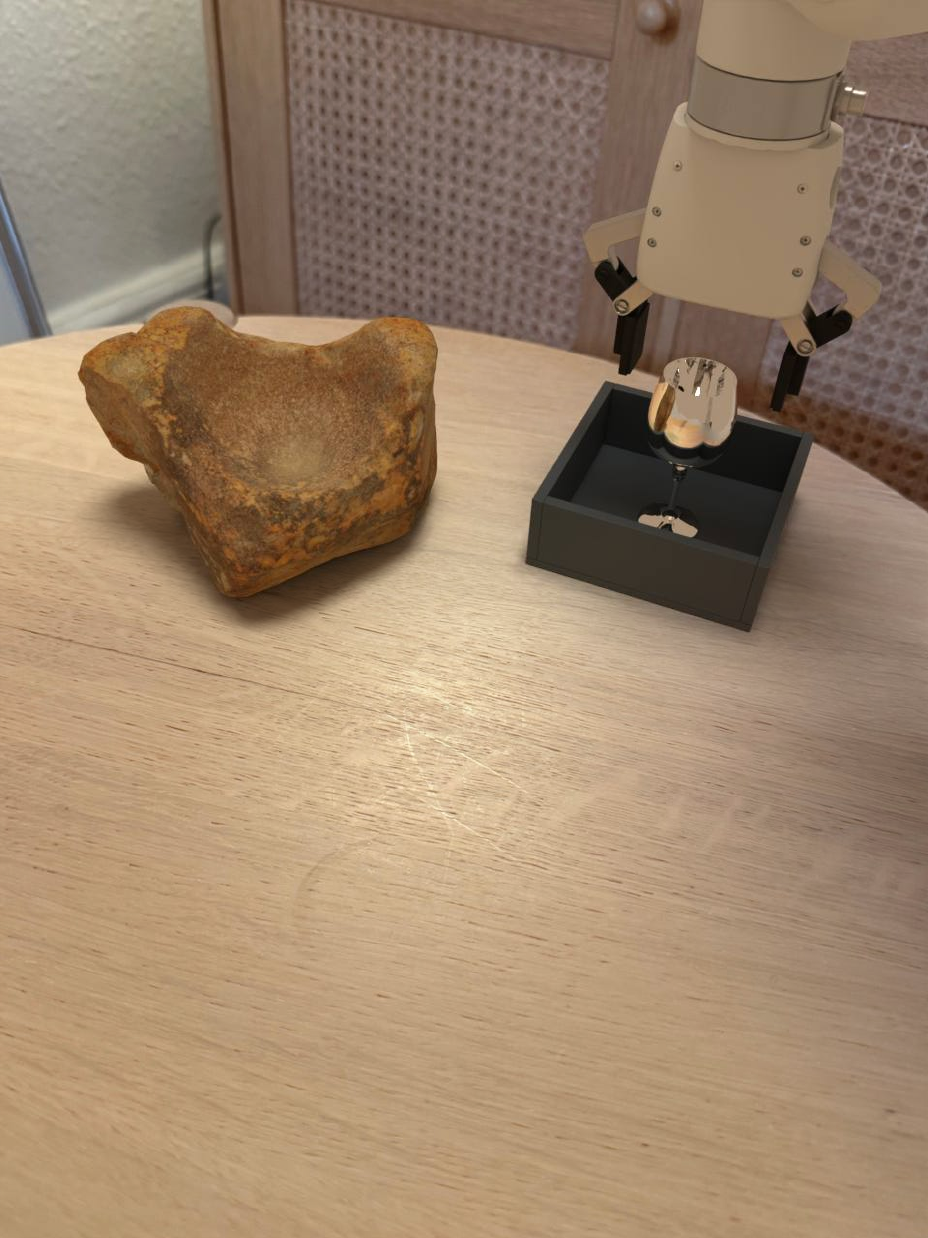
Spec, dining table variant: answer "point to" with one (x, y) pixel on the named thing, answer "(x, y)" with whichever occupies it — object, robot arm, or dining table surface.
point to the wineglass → (688, 430)
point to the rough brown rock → (273, 436)
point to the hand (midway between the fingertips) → (703, 382)
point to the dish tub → (635, 477)
